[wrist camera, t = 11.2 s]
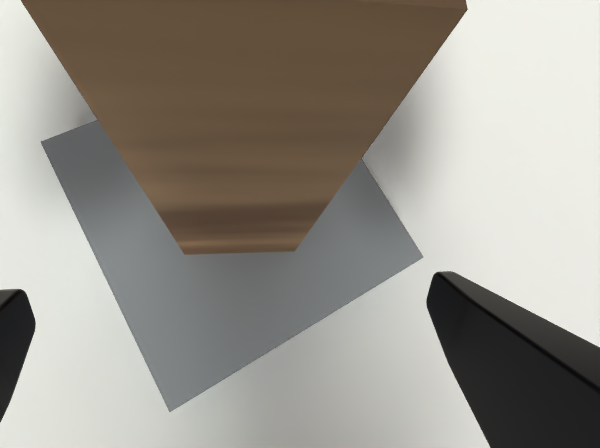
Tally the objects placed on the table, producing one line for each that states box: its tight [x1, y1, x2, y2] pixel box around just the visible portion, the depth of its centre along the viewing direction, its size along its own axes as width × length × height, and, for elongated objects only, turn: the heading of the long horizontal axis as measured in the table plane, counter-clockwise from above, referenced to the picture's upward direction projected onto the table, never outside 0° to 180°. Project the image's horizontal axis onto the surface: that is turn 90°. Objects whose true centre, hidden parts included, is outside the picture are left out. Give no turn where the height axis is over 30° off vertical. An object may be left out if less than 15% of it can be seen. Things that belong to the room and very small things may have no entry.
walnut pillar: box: [21, 0, 468, 255], centre depth 11 cm, size 4×4×13 cm
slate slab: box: [41, 120, 423, 412], centre depth 18 cm, size 12×12×2 cm
